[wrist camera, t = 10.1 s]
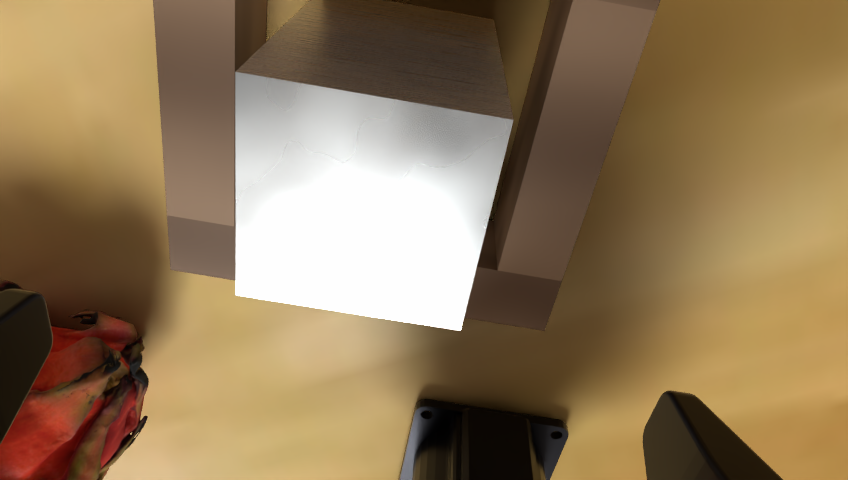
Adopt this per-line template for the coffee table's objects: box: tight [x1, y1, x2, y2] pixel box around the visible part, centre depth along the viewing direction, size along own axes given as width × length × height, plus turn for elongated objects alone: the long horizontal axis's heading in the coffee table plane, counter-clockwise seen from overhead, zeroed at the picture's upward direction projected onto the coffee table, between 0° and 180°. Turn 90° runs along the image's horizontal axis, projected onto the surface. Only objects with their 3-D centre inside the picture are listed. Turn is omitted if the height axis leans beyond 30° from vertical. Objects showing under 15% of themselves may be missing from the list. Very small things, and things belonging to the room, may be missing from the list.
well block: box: [153, 0, 660, 331], centre depth 18 cm, size 12×12×3 cm
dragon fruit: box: [0, 280, 149, 480], centre depth 23 cm, size 8×8×12 cm
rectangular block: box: [235, 0, 513, 331], centre depth 16 cm, size 5×5×8 cm
